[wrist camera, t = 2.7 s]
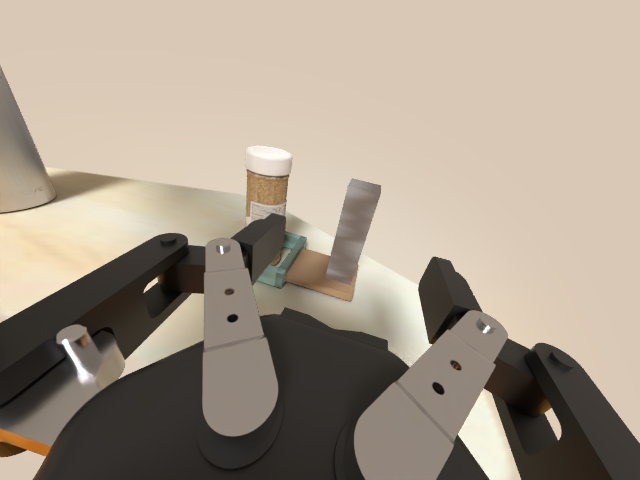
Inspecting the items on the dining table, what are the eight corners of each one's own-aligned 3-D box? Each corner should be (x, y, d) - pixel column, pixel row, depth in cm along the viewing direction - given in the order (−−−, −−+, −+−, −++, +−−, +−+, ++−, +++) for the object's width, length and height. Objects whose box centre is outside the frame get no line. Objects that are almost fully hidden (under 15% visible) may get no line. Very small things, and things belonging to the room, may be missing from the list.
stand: (217, 267, 26) (210, 160, 20) (254, 234, 33) (257, 148, 27) (349, 310, 24) (386, 206, 18) (357, 265, 31) (385, 180, 25)
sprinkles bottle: (251, 246, 31) (255, 142, 24) (284, 252, 31) (296, 150, 24) (238, 265, 27) (237, 148, 20) (275, 273, 27) (287, 159, 21)
